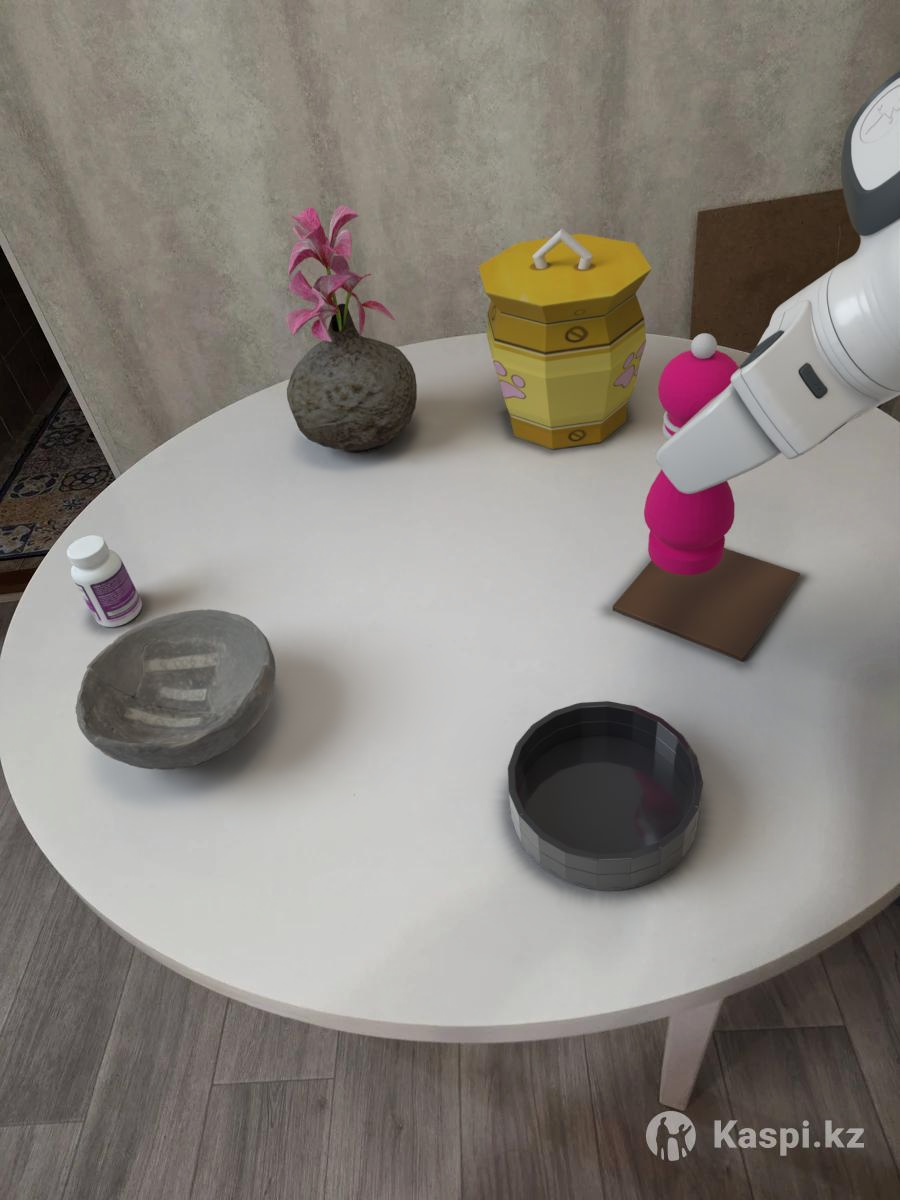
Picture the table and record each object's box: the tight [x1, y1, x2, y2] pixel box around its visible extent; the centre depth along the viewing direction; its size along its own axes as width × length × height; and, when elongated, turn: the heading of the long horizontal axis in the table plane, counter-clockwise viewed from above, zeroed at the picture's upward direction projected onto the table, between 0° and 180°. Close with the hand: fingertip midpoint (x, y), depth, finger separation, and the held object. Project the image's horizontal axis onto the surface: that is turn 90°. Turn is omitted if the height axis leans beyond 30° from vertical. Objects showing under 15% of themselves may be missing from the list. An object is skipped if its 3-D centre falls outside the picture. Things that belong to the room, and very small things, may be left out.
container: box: [478, 227, 653, 451], centre depth 109 cm, size 21×21×25 cm
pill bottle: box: [66, 534, 143, 628], centre depth 94 cm, size 5×5×10 cm
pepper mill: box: [643, 332, 739, 575], centre depth 68 cm, size 7×7×20 cm
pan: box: [507, 700, 704, 891], centre depth 70 cm, size 15×15×4 cm
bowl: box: [74, 608, 276, 771], centre depth 81 cm, size 18×18×8 cm
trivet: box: [611, 547, 801, 662], centre depth 89 cm, size 14×14×1 cm
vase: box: [285, 205, 418, 454], centre depth 109 cm, size 17×17×30 cm
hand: (688, 437), depth 67 cm, fingers closed on pepper mill, 5 cm apart
